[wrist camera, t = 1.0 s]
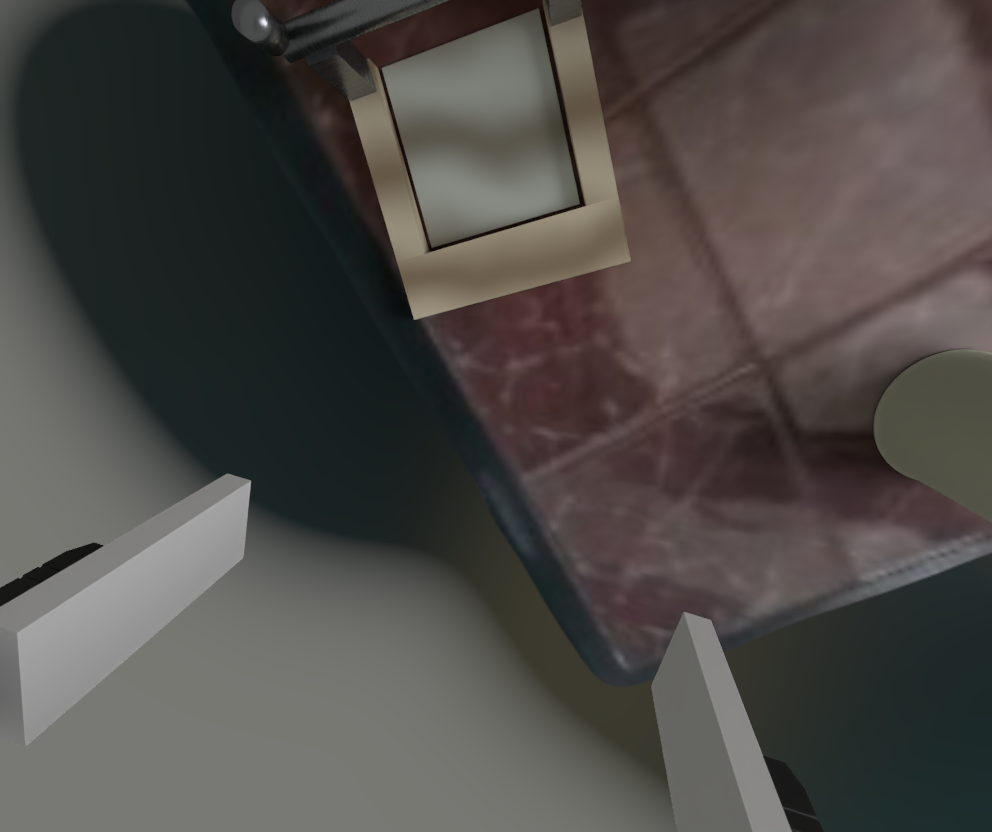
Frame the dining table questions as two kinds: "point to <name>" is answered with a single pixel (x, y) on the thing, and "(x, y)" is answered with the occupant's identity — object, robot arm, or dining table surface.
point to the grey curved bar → (343, 34)
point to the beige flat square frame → (493, 164)
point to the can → (942, 426)
